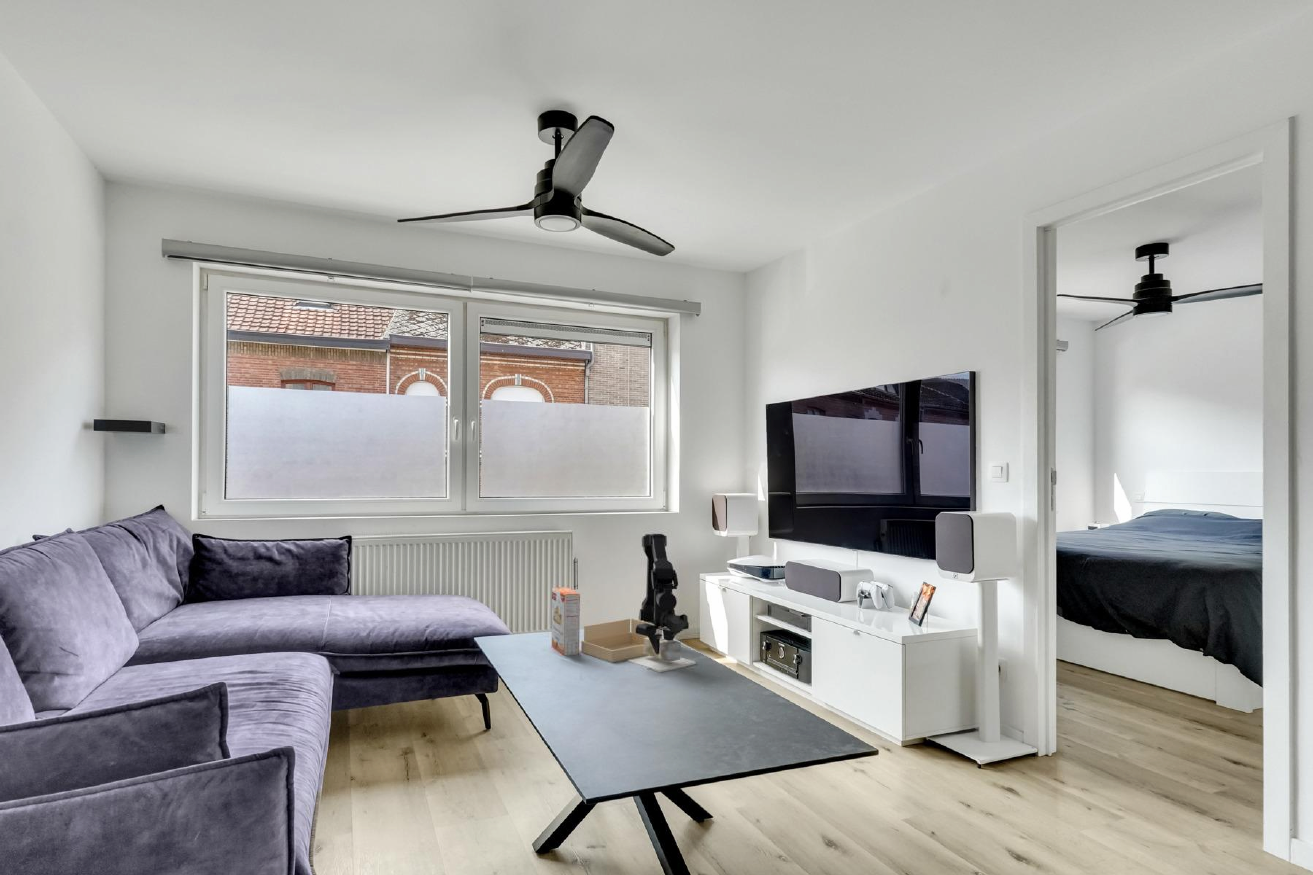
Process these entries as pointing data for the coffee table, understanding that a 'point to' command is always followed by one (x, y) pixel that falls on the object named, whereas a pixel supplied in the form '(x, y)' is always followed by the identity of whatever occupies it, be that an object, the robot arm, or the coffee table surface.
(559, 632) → the cracker box
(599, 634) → the carton
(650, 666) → the grey mat
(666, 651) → the grey and cream hammer
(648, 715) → the coffee table surface
